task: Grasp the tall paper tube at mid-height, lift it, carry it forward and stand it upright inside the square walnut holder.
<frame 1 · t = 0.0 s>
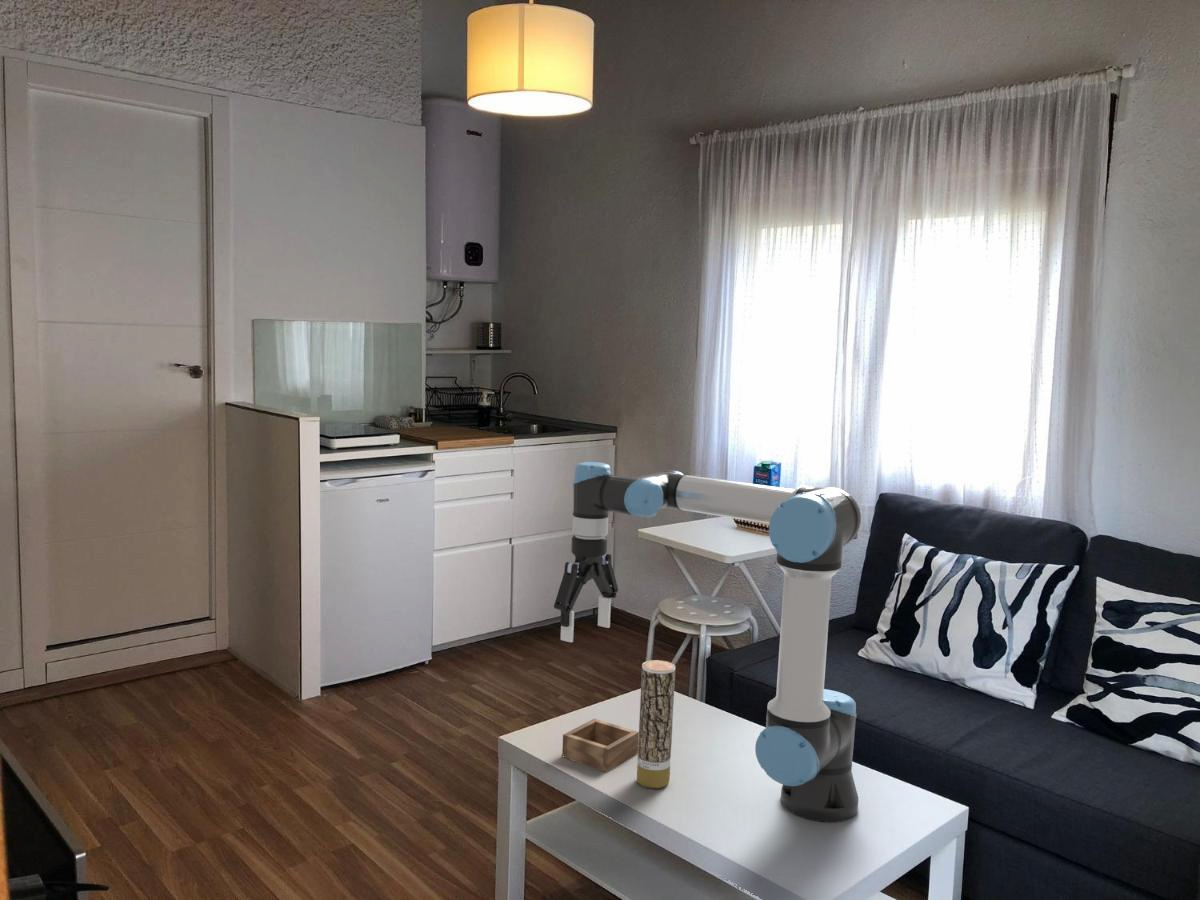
hand: (585, 633, 215), 28 cm above the table, fingers open, 13 cm apart
holder: (600, 755, 220), on the table
paper tube: (652, 783, 208), on the table
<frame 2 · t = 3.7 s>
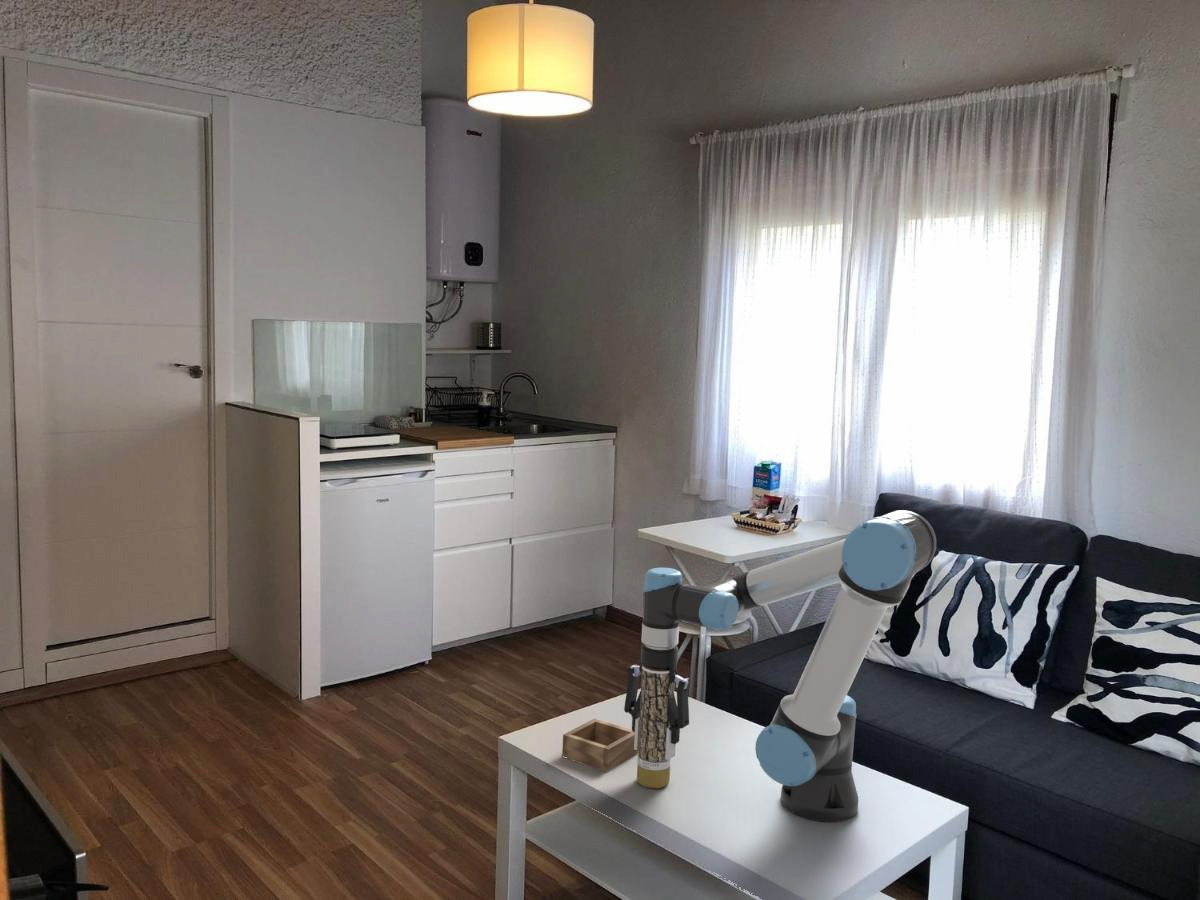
hand: (654, 752, 207), 7 cm above the table, fingers closed on paper tube, 7 cm apart
paper tube: (652, 783, 208), on the table, touching gripper
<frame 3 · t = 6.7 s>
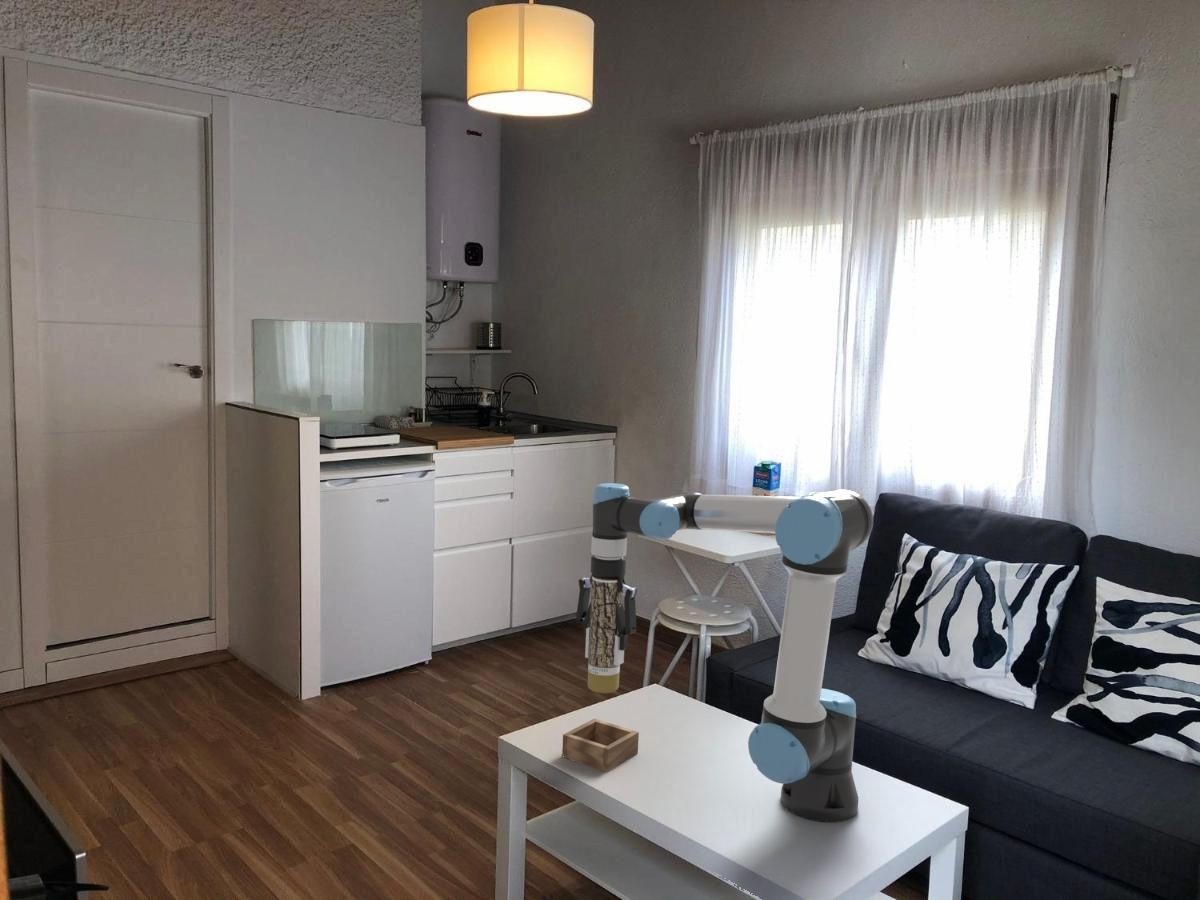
hand: (604, 659, 218), 22 cm above the table, fingers closed on paper tube, 7 cm apart
paper tube: (603, 689, 219), point 15 cm above the table, touching gripper
when the fingers open (7 cm above the table, at t = 9.6 s): paper tube stays where it is, resting in holder.
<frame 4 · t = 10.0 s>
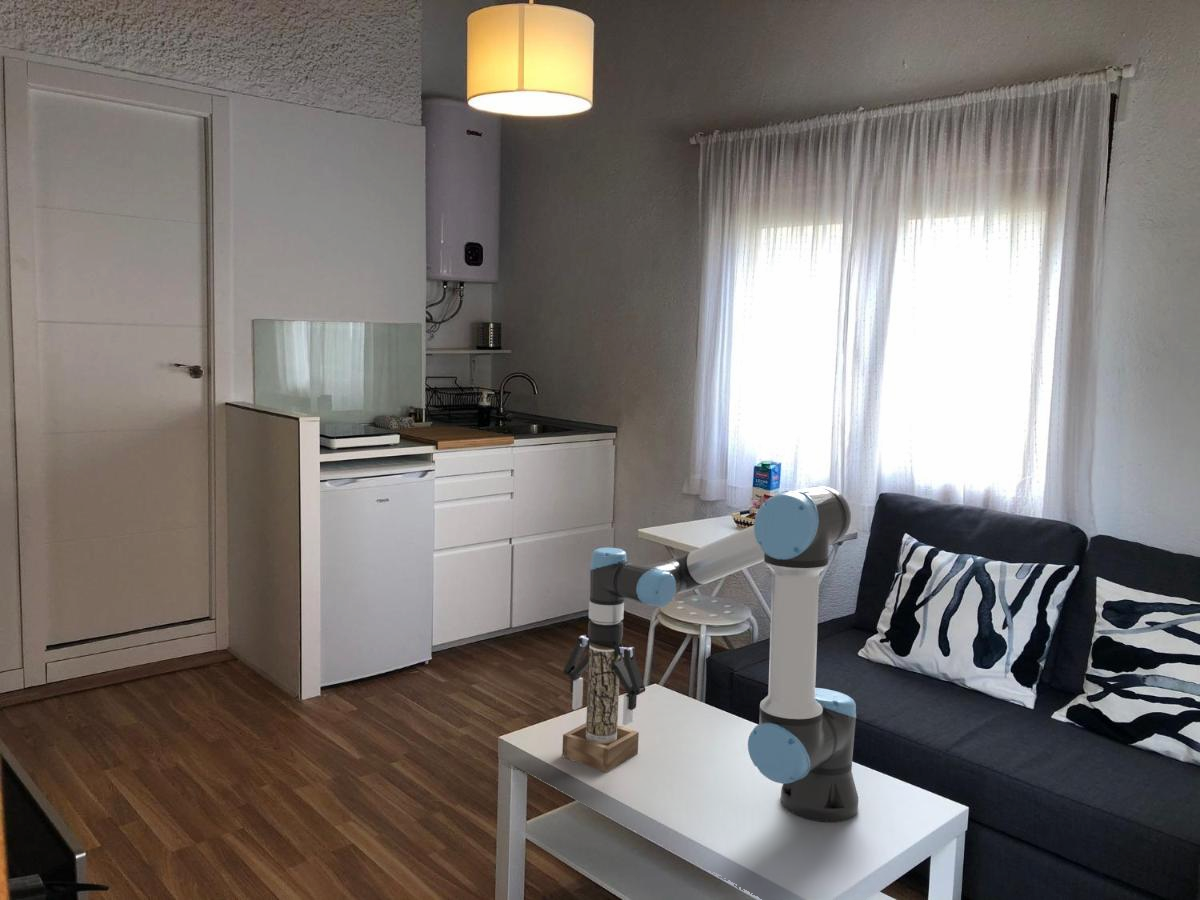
hand: (601, 715, 219), 9 cm above the table, fingers open, 13 cm apart
paper tube: (600, 756, 220), resting in holder
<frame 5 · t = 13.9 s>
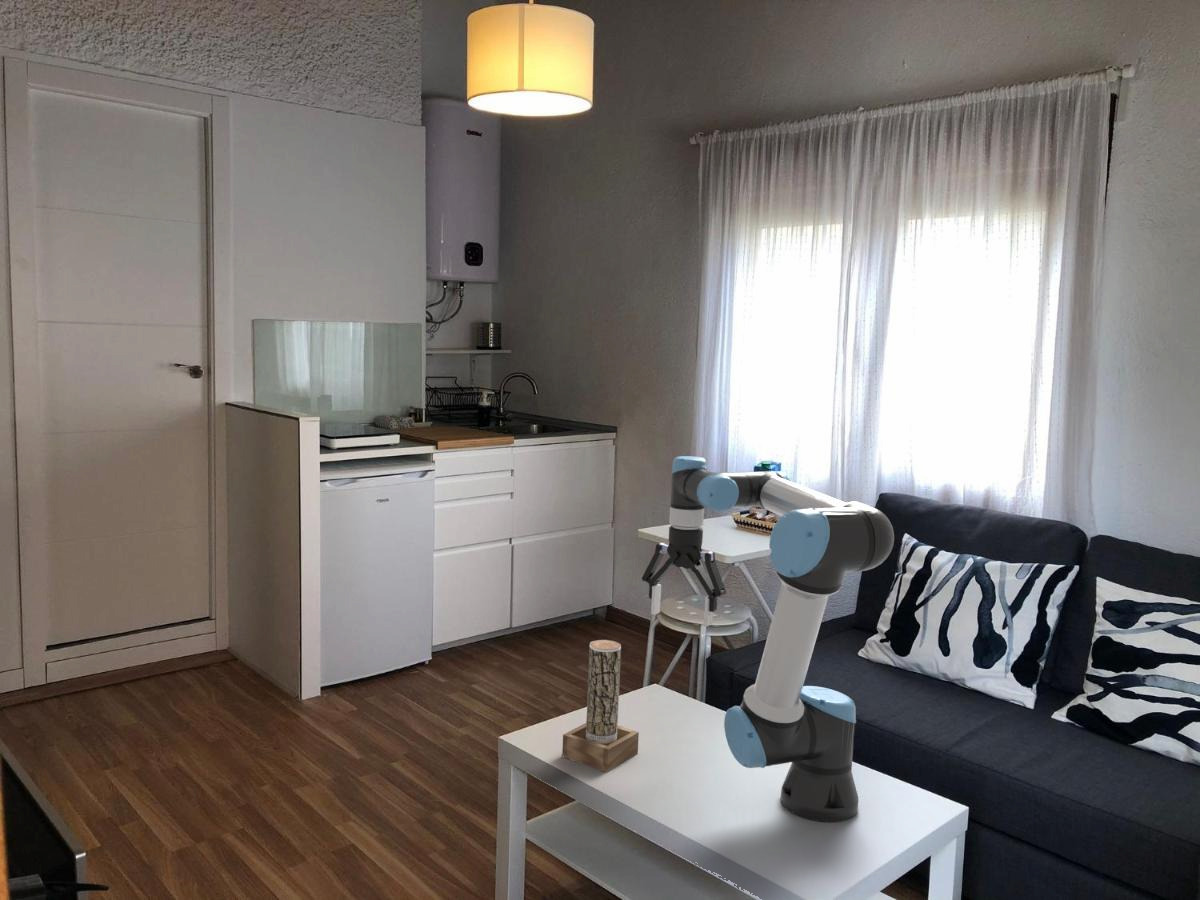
hand: (681, 619, 226), 29 cm above the table, fingers open, 13 cm apart
nothing on the table moved.
at the end: paper tube 0.1 cm from the holder (horizontally); paper tube tilted 0°; the gripper is holding nothing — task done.
